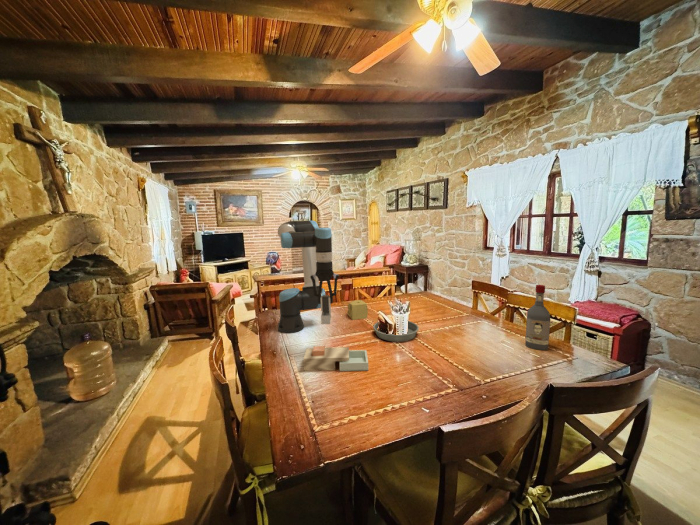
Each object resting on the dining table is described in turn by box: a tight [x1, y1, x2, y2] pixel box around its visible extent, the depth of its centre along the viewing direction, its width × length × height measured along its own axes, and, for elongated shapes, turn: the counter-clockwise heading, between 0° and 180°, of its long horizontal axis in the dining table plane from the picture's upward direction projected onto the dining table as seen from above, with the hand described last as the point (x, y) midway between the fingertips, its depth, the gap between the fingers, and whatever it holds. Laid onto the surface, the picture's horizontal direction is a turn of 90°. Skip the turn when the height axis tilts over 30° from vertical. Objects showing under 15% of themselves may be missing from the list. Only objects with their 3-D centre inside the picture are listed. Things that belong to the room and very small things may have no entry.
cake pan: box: [372, 320, 420, 343], centre depth 160 cm, size 25×25×4 cm
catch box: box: [339, 349, 369, 372], centre depth 127 cm, size 12×12×4 cm
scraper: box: [320, 294, 332, 325], centre depth 137 cm, size 4×10×12 cm, turn 1°
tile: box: [312, 345, 326, 356], centre depth 126 cm, size 5×5×2 cm
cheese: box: [346, 299, 369, 321], centre depth 189 cm, size 10×11×10 cm
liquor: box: [524, 284, 551, 351], centre depth 138 cm, size 9×9×30 cm
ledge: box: [303, 346, 350, 372], centre depth 126 cm, size 19×10×6 cm, turn 91°
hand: (325, 310), depth 137 cm, fingers closed on scraper, 3 cm apart
